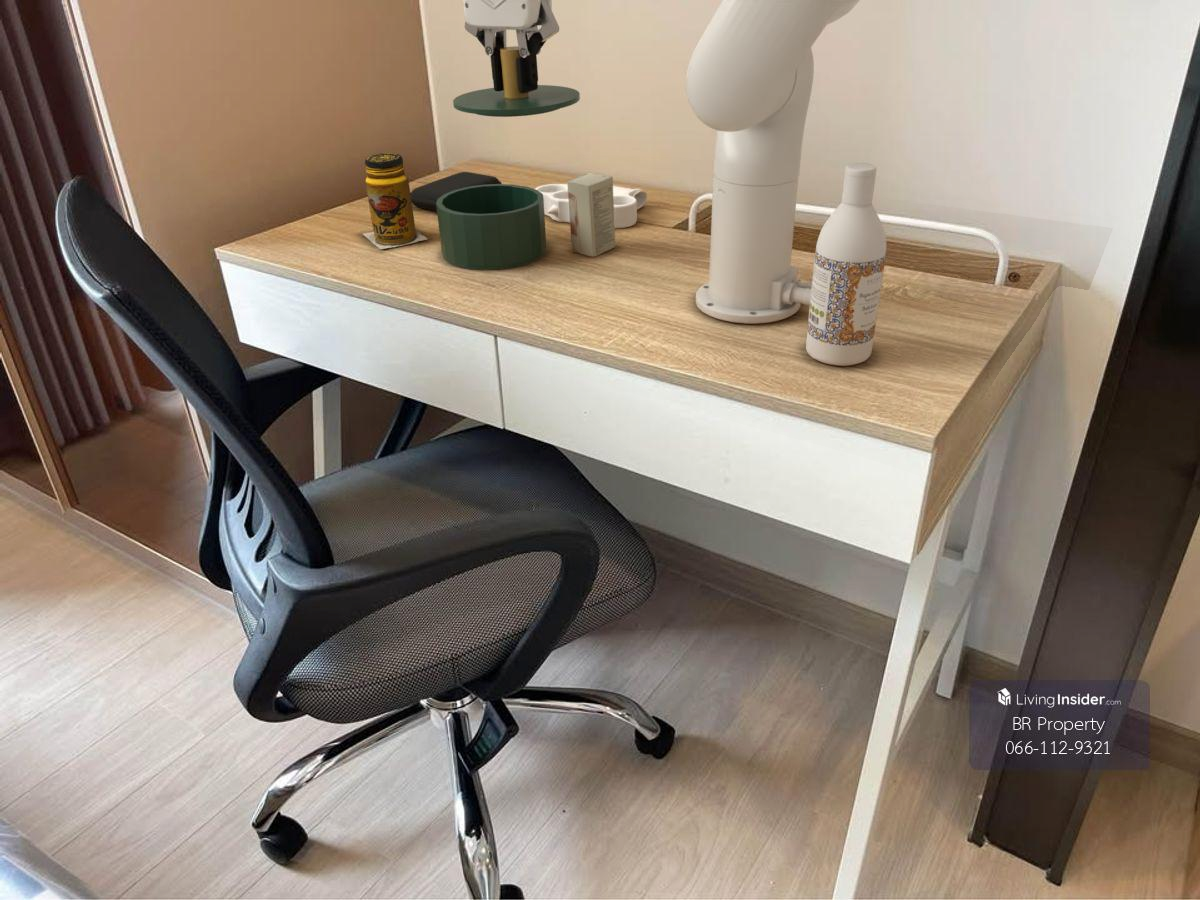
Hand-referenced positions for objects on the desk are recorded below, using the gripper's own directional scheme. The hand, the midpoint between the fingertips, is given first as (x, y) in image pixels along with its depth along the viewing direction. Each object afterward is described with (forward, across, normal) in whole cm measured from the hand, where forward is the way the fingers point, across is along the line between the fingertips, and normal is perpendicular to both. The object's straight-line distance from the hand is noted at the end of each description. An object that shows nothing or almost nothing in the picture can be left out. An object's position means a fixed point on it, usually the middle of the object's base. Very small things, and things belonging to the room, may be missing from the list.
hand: (516, 88), depth 112 cm
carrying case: (+23, -29, +19) cm, 42 cm away
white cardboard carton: (+23, +4, +10) cm, 25 cm away
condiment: (+23, -25, 0) cm, 34 cm away
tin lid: (+2, 0, 0) cm, 2 cm away
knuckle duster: (+23, -5, +24) cm, 33 cm away
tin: (+23, -8, +2) cm, 24 cm away
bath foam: (+24, +45, -6) cm, 51 cm away
